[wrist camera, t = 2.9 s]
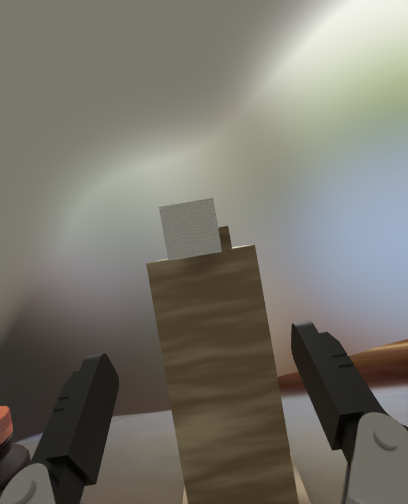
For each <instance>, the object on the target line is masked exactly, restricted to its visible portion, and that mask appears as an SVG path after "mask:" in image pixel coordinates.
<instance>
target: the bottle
mask: <svg viewBox="0 0 408 504" xmlns="http://www.w3.org/2000/svg"><path fill="white" fill-rule="evenodd" d="M12 436H13V426H12V421H11V415H10V409H9V408H8V407H6V406H0V492H1V491H2V490H4V489H5V488H6V486H7V485H8V483H9V482H10V481H11V480H12V478H13V477H14V476H15V475H16V474H17V473H19V472H20V471H21V470H22V469H24V468H25V467H27V466H28V465H29V463H30V462H31V460H30V454H29V451H28V449H26V448H25V447H24V446H22V445H18V444H14V443H11V438H12Z"/></svg>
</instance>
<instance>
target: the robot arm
mask: <svg viewBox="0 0 408 504" xmlns="http://www.w3.org/2000/svg"><path fill="white" fill-rule="evenodd" d="M291 350H292V355H293V359H294V361H295V364H296V366H297V369H298V371H299V373H300V376H301V378H302V380H303V383H304V385H305V387H306V390H307V392H308V395H309V397H310V399H311V402H312V404H313V406H314V409H315V411H316V413H317V416H318V418H319V420H320V423H321V425H322V428H323V430H324V432H325V435H326V437H327V439H328V442H329V444H330V446H331V449H332V450H339V449H342V451H343V453H344V456H345V458H346V460H347V466H346V472H345V479H344V485H343V491H342V498H341V504H408V427H406V426H404V425H402V424H400V423H399V422H398V421H397V420H395V419H393V418H392V417H391V416H389V415H388V414H387V413H386V412H385V411H384V409H383V408H382V407H381V405H380V404H379V402H378V401H377V399H376V398H375V396H374V395H373V393H372V392H371V390H370V389H369V387H368V385H367V384H366V382H365V381H364V379H363V378H362V376H361V375H360V373H359V372H358V370H357V368H356V367H355V366H354V365H353V362H352V361H351V359H350V358H349V356H347V353H346V352H345V350H344V348H343V347H342V345H341V344H340V342H339V341H338V340H337V339H335V338H334V337H333V336H332V335H330V334H329V333H328V332H324V333H318V331H317V329H316V328H315V326H314V324H313V323H312V322H311V321H306V322H300V323H294V324H292V333H291ZM118 388H119V378H118V375H117V372H116V371H115V369H114V367H113V365H112V363H111V362H110V360H109V358H108V356H107V355H106V354H99V355H92V356H87V357H86V358H85V359H84V361H83V363H82V366H81V368H80V371H77V372H74V373H73V374H72V375H71V377H70V378H69V379H68V380H67V382H66V383H65V384H64V386H63V389H62V391H61V393H60V396H59V400H58V401H57V402H56V405H55V407H54V409H53V410H54V411H53V413H52V414H51V416H50V419H49V421H48V423H47V426H46V428H45V430H44V432H43V435H42V437H41V439H40V442H39V444H38V446H37V449H36V451H35V453H34V455H33V458H32V460H31V462H30V463H29V465H28V466H27V467H25V468H24V469H22V470H21V471H20V472H19V473H17V474H16V475H15V476H14V477H13V478H12V480H11V481H10V482H9V483H8V485H7V486H6V488H5V489H4V490H2V491H1V492H0V504H83V501H82V499H81V497H82V493H83V489H84V486H88V485H94V484H96V482H97V478H98V473H99V469H100V465H101V461H102V456H103V452H104V448H105V444H106V440H107V435H108V431H109V427H110V423H111V418H112V414H113V410H114V406H115V401H116V397H117V392H118Z"/></svg>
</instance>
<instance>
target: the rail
mask: <svg viewBox="0 0 408 504" xmlns="http://www.w3.org/2000/svg"><path fill="white" fill-rule="evenodd" d="M159 209H160V215H161V221H162V226H163V232H164V237H165V244H166V250H167V255H168V261H172V260H177V259H183V258H189V257H195V256H201V255H207V254H212V253H218V252H222V248H221V243H220V237H219V231H218V225H217V219H216V213H215V208H214V202H213V198H210V199H205V200H198V201H193V202H188V203H181V204H176V205H170V206H164V207H160V208H159Z"/></svg>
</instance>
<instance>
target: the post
mask: <svg viewBox="0 0 408 504" xmlns="http://www.w3.org/2000/svg"><path fill="white" fill-rule="evenodd" d="M218 231H219V237H220V243H221V248H222V252H218V253H212V254H207V255H201V256H195V257H189V258H183V259H177V260H172V261H168V259H164V260H159V261H155V262H150V263H147V264H146V265H147V270H148V276H149V282H150V288H151V294H152V300H153V305H154V311H155V316H156V323H157V328H158V334H159V340H160V346H161V351H162V357H163V363H164V369H165V375H166V380H167V386H168V392H169V398H170V403H171V409H172V415H173V421H174V426H175V432H176V438H177V444H178V450H179V455H180V461H181V467H182V473H183V478H184V484H185V486H184V495H183V504H311V503H310V501H309V498H308V496H307V493H306V491H305V488H304V485H303V483H302V480H301V478H300V475H299V473H298V470H297V468H296V465H295V463H294V460H293V458H292V455H291V452H290V448H289V442H288V437H287V431H286V425H285V419H284V413H283V407H282V401H281V395H280V390H279V384H278V378H277V372H276V366H275V361H274V355H273V349H272V343H271V337H270V331H269V325H268V320H267V314H266V308H265V302H264V296H263V290H262V284H261V278H260V273H259V266H258V261H257V255H256V249H255V245H247V246H239V247H233V248H232V246H231V240H230V235H229V229H228V226H225V227H219V229H218Z"/></svg>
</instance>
